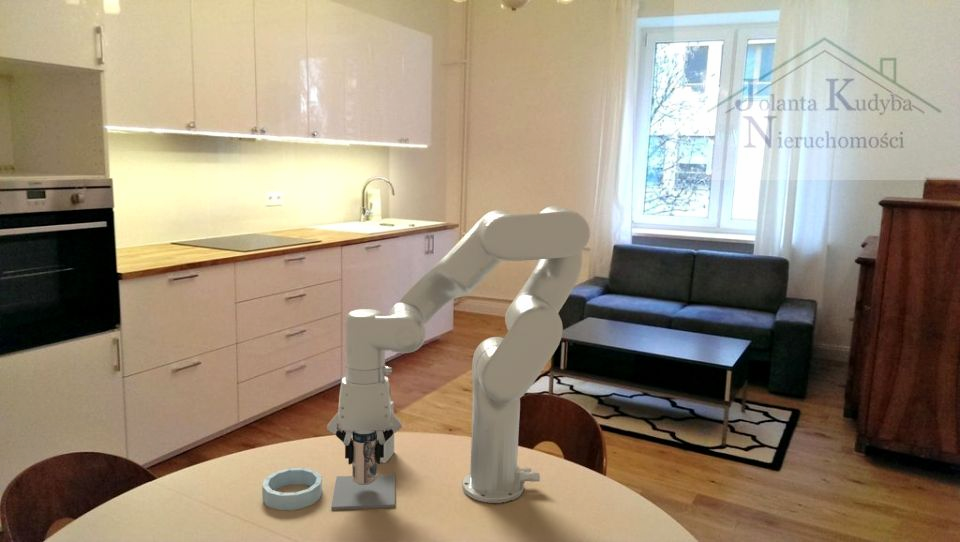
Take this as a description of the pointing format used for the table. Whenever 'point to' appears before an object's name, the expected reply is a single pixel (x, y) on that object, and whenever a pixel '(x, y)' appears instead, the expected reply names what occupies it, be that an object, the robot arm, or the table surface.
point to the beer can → (364, 457)
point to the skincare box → (388, 443)
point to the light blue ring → (292, 499)
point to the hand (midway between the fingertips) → (364, 460)
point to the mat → (364, 493)
